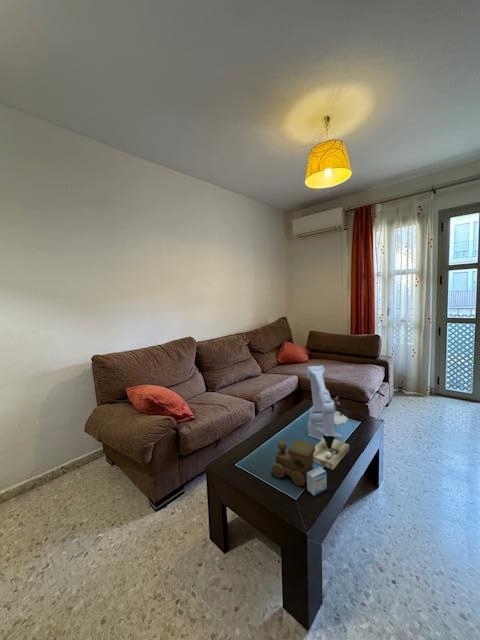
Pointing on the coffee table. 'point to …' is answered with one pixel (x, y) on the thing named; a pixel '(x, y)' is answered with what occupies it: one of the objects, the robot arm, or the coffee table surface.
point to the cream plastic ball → (328, 454)
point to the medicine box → (316, 481)
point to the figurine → (339, 415)
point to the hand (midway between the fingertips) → (329, 447)
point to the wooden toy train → (294, 461)
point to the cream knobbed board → (322, 448)
